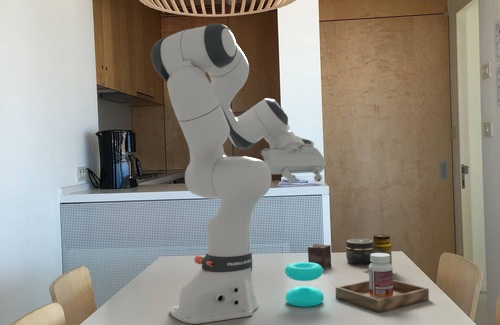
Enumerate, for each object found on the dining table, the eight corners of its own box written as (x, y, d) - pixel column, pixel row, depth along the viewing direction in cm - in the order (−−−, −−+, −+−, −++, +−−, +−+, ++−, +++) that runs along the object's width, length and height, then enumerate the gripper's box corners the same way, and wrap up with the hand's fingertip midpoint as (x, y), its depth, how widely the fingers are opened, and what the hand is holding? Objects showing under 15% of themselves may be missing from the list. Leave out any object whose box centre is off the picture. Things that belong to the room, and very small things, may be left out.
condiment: (397, 273, 169) (396, 235, 168) (376, 276, 165) (375, 238, 165) (383, 268, 175) (382, 232, 175) (362, 271, 172) (361, 235, 172)
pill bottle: (398, 297, 139) (397, 254, 139) (381, 301, 136) (381, 257, 135) (380, 292, 144) (379, 251, 144) (364, 296, 141) (363, 254, 141)
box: (331, 266, 181) (331, 245, 181) (324, 269, 176) (324, 248, 176) (315, 264, 184) (315, 243, 184) (308, 268, 179) (307, 246, 179)
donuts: (301, 271, 132) (277, 264, 140) (302, 310, 132) (278, 301, 140) (330, 265, 137) (306, 259, 146) (331, 303, 138) (307, 295, 146)
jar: (363, 258, 193) (363, 237, 193) (381, 263, 184) (380, 241, 183) (340, 261, 189) (340, 240, 189) (357, 266, 180) (356, 244, 179)
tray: (379, 312, 128) (379, 300, 128) (335, 298, 142) (335, 287, 142) (428, 300, 138) (428, 288, 138) (383, 287, 152) (383, 277, 151)
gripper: (262, 141, 157) (282, 175, 148) (316, 140, 167) (337, 172, 159) (255, 156, 160) (273, 190, 152) (308, 155, 171) (328, 186, 163)
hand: (307, 180), depth 156 cm, fingers open, 8 cm apart
